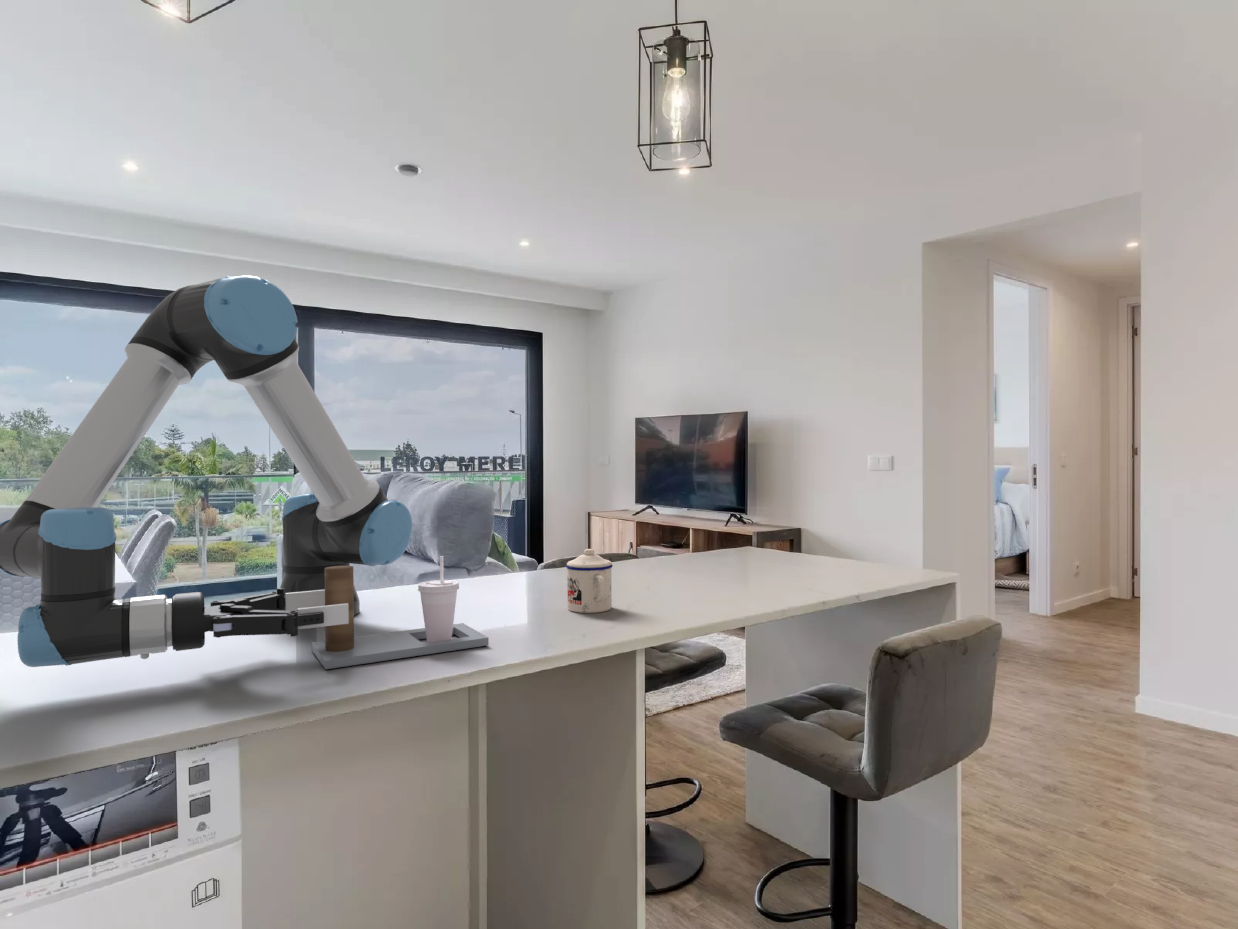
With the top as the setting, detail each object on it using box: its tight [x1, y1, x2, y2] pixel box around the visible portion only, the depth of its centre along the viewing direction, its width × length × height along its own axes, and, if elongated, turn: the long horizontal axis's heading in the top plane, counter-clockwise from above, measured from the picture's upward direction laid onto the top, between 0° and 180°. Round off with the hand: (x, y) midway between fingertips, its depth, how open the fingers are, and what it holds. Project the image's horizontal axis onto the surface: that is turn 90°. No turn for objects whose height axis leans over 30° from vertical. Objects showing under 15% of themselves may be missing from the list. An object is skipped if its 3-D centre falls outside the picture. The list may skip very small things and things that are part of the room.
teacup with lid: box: [565, 548, 613, 614], centre depth 139 cm, size 12×9×12 cm
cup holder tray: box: [311, 565, 490, 670], centre depth 111 cm, size 12×24×13 cm, turn 121°
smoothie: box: [417, 555, 460, 643], centre depth 115 cm, size 6×6×14 cm
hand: (339, 605), depth 106 cm, fingers open, 13 cm apart
